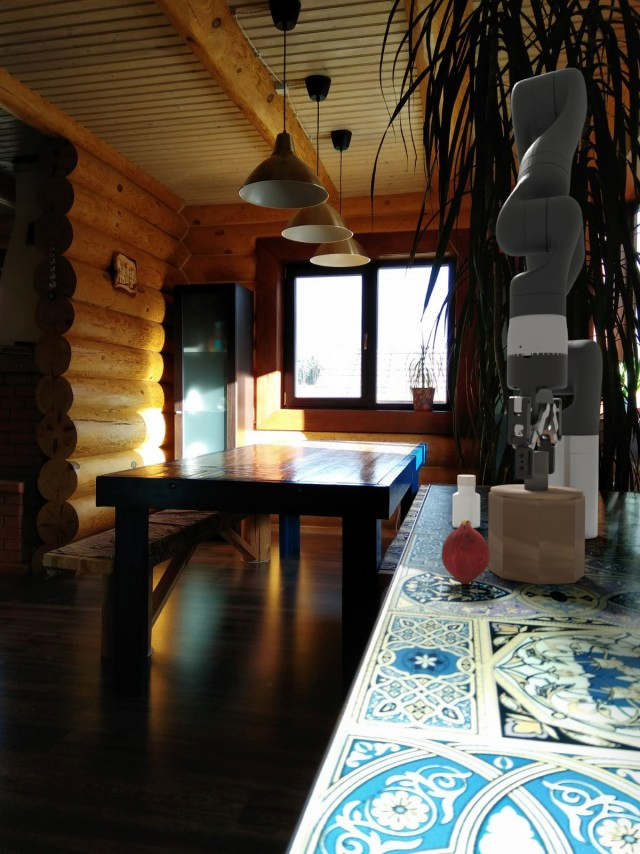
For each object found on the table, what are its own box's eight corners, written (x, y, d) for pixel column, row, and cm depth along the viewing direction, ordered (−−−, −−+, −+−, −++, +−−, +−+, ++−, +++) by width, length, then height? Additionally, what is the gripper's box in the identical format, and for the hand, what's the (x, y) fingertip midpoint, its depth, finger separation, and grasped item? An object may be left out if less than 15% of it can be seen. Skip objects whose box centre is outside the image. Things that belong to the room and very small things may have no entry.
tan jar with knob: (508, 558, 94) (509, 448, 93) (592, 570, 87) (594, 451, 86) (476, 574, 85) (476, 452, 84) (567, 589, 78) (568, 456, 77)
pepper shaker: (451, 527, 118) (451, 475, 118) (461, 524, 121) (461, 474, 121) (471, 530, 116) (471, 477, 115) (481, 527, 119) (481, 475, 118)
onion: (490, 592, 77) (491, 524, 76) (441, 589, 78) (441, 523, 77) (487, 579, 82) (488, 516, 82) (441, 577, 83) (442, 515, 83)
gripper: (527, 357, 93) (526, 471, 93) (488, 350, 82) (487, 479, 82) (581, 355, 88) (580, 474, 89) (548, 346, 77) (547, 483, 77)
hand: (535, 476), depth 85 cm, fingers open, 8 cm apart
